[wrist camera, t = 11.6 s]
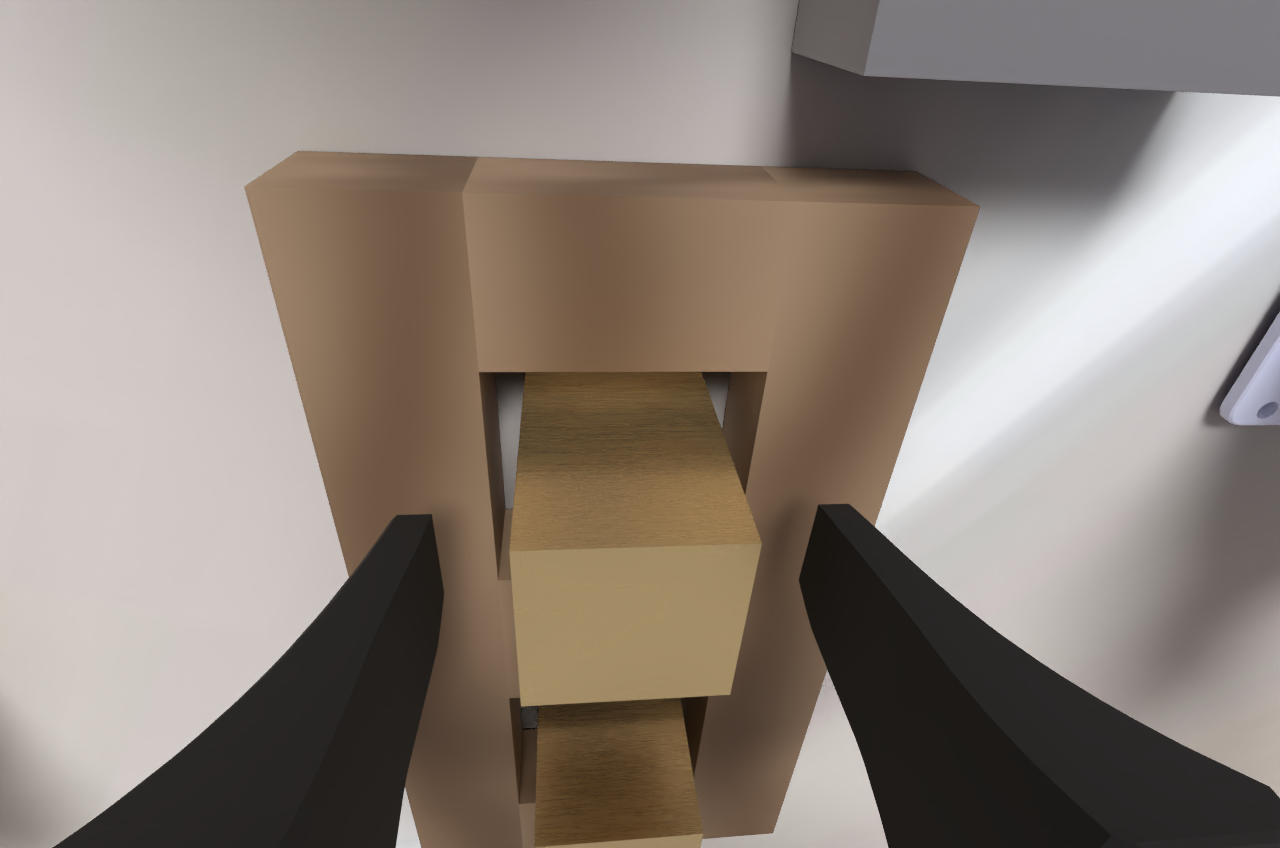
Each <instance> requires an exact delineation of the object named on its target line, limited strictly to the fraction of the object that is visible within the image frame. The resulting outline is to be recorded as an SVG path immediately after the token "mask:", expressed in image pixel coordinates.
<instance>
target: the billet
mask: <svg viewBox="0 0 1280 848" xmlns="http://www.w3.org/2000/svg"><path fill="white" fill-rule="evenodd" d="M702 836H703V831H702V825H701V819H700V813H699V807H698V801H697V795H696V789H695V783H694V777H693V771H692V765H691V759H690V753H689V747H688V741H687V735H686V729H685V723H684V717H683V711H682V705H681V699H680V698H664V699H646V700H628V701H610V702H592V703H574V704H556V705H538V738H537V772H536V805H535V839H534V848H700V846H701V841H702Z"/></svg>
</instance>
